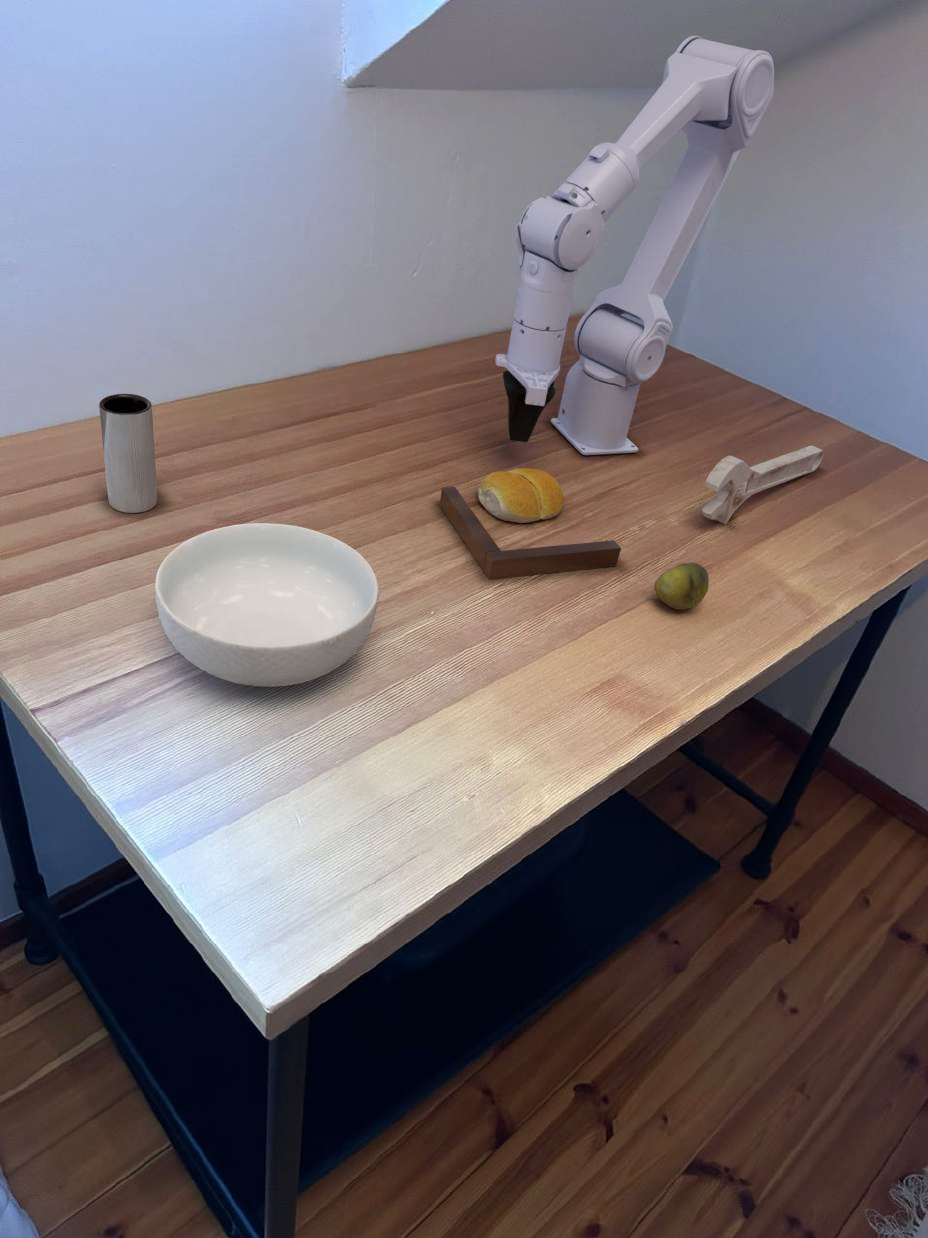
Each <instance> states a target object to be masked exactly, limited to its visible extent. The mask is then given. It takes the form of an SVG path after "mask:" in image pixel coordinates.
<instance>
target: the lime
mask: <svg viewBox="0 0 928 1238" xmlns="http://www.w3.org/2000/svg"><path fill="white" fill-rule="evenodd" d="M709 580H710V579H709V573H708V570H707V568H705V567H704V566H703V565H701V564H699V563H697V562H687V563H680V564H677V565H676V566H673V567H671V568H669V569H668V570H666V571H664V572H663V573H661V575H660V576H659V577H658V578H657V579H656V580H655V582H654V592H655V595H656V596H657V598H658V599H659V600H660V601H661V602H662V603H663V604H665V605H667V606H669V607H671V608H672V609H676V610H686V609H690V608H694V607H695V606H697V605H698V604H700V603H702V601H703V600H704V598H705V596H706V595H707V593H708V591H709V585H710V584H709V583H710V581H709Z"/></svg>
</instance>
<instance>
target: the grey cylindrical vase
mask: <svg viewBox="0 0 928 1238" xmlns="http://www.w3.org/2000/svg"><path fill="white" fill-rule="evenodd" d="M98 407H99V409H98V410H99V419H100V430H101V441H102V449H103V450H102V451H103V459H104V460H103V461H104V469H105V480H106V481H105V482H106V490H107V499H108V504H109V506H110V507H111V508H112V509H114V510H116V511H118V512H121V513H127V514H137V513H144V512H147V511H149V510H151V509H153V508H154V507H156V505H157V504H158V484H157V467H156V466H157V465H156V452H155V451H156V450H155V436H154V435H155V433H154V420H153V404H152V402H151V401H150V400H149V399H148V398H147V397H144V396H141V395H139V394H135V393H116V394H110V395H108V396H106V397H103V398H102V399H101V400H100V401H99V404H98Z"/></svg>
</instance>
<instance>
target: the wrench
mask: <svg viewBox="0 0 928 1238" xmlns="http://www.w3.org/2000/svg"><path fill="white" fill-rule="evenodd" d="M824 455H825V451H824V449H821V448H819V447H816V446H814V445H809V446H805V447H802V448H800V449H797V450H794V451H791V452H789V453H786V454H783V455H780V456H777V457H774V458H771V459H768V460H767V461H764V462H760V463H758V464H755V465H753V466H749V465H748V464H747V463H746V462H745V460H742V459H741V458H737V457H735V456H733V455H727V456H724V457H723V458H721V459H720V460H719V461H718V463H716V464H715V466H713V468H712V469H711V471H710V472H709V474H708V476H707V477H706V479H705V482H704V487H706V488H708V489H710V490H712V491H714V492H716V493H717V495H716V497H714V498H712V499H711V500H710V501H708V502H707V503H706V504H705V505H704V506H703V508H702V509H701V515H702V516H703V517H704V518H707V519H708V520H711V521H718V522H720V523H721V524H723V525H727V523H728V522H729V520H730V519H731V517H732V516H733V515H734V513H735V511H737V510H738V509H739V507H740V506H741V505H742V504H743V503H744V502H745V501H746V500H748V499H749V498H750V497H751V496H752V495H754V494H757V493H759V492H761V491H765V490H767V489H770V488H772V487H775V486H777V485H780V484H783V483H786V482H789V481H791V480H794V479H796V478H799V477H801V476H802V477H803V476H805V475H808V474H810V473H813V472H816V470H817V469H818V467H819V466H820V464H821V463H822V461H823V458H824Z"/></svg>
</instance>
